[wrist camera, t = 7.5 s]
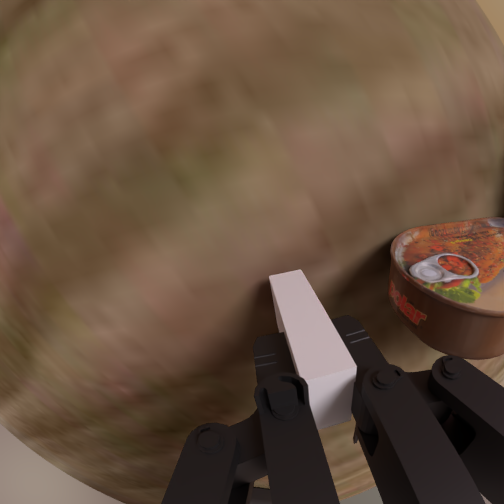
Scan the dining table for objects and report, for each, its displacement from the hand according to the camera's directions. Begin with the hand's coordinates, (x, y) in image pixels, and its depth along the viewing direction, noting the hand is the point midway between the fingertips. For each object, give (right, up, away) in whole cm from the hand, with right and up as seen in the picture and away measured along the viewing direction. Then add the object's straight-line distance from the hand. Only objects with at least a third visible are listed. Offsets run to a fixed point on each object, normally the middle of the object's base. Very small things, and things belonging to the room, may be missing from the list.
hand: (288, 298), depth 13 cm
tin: (+11, +3, +1) cm, 12 cm away
